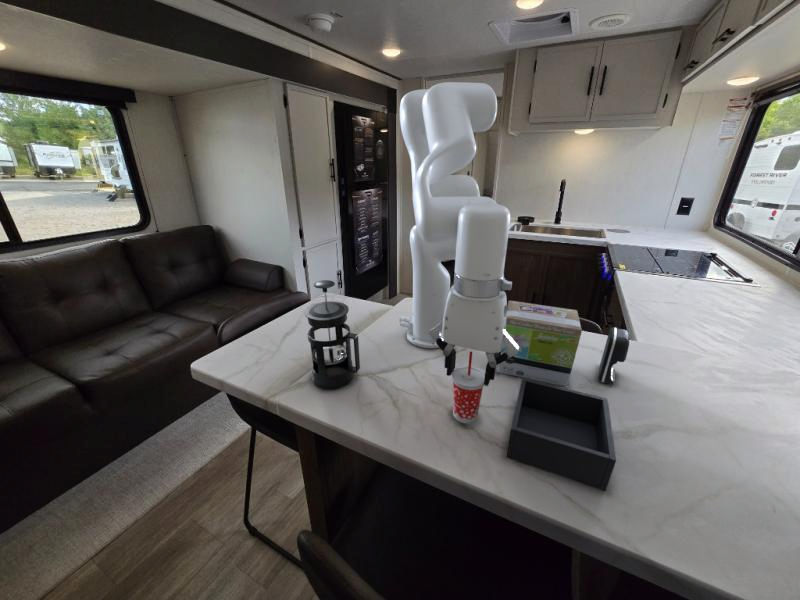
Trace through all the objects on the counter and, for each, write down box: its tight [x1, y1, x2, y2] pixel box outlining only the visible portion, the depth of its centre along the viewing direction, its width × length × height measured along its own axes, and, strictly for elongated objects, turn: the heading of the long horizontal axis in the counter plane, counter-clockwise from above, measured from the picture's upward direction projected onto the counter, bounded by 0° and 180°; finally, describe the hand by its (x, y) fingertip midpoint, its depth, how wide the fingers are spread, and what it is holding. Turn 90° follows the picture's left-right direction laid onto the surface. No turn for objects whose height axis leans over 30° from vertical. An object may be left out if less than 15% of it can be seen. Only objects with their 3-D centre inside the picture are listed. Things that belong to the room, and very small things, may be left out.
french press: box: [304, 279, 361, 391], centre depth 72 cm, size 12×9×23 cm
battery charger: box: [597, 327, 630, 385], centre depth 74 cm, size 7×4×11 cm, turn 149°
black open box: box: [505, 377, 617, 492], centre depth 59 cm, size 15×15×6 cm
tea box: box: [497, 300, 583, 388], centre depth 77 cm, size 15×10×15 cm
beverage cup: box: [451, 351, 485, 424], centre depth 62 cm, size 6×6×14 cm
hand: (468, 375), depth 61 cm, fingers closed on beverage cup, 6 cm apart
